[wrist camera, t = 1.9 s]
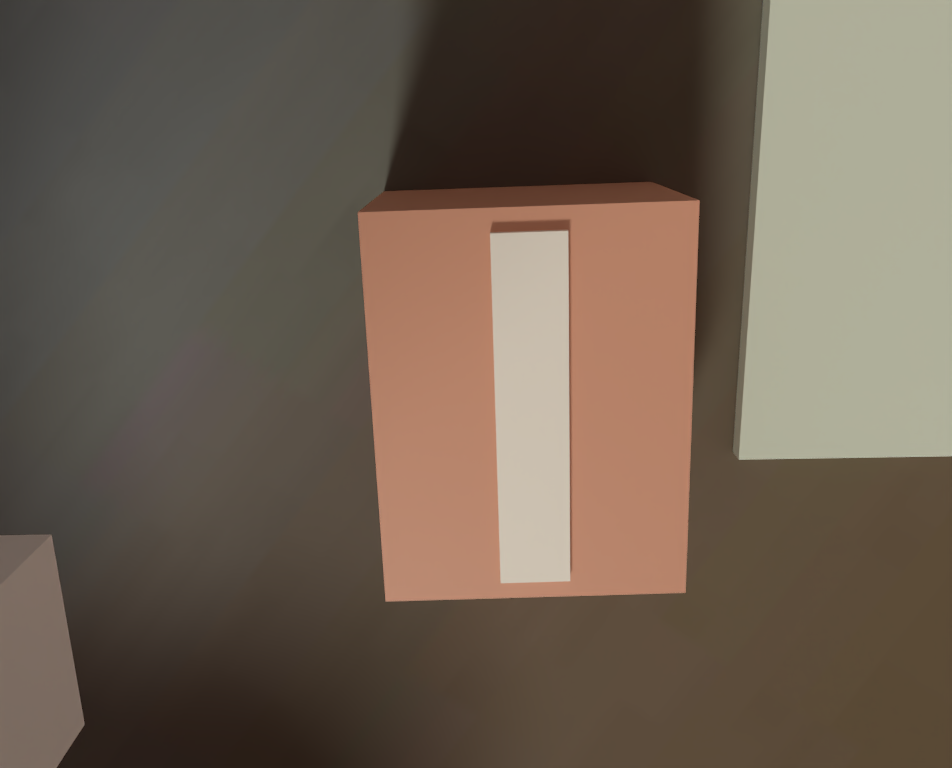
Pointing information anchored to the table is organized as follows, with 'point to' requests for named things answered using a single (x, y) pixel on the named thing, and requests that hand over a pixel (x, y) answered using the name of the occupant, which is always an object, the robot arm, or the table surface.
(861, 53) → the mat
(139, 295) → the table surface
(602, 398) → the card box
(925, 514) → the table surface
